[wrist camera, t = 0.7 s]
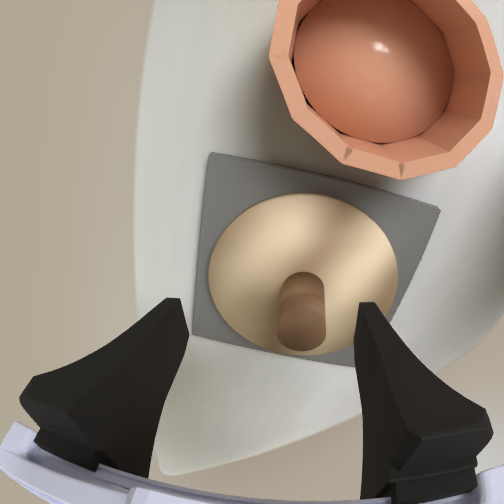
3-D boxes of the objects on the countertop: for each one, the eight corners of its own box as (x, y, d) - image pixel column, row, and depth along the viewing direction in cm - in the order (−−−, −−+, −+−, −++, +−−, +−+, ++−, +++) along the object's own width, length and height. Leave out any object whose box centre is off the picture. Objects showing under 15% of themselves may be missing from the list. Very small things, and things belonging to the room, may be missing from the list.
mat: (437, 206, 19) (440, 210, 18) (363, 363, 26) (363, 368, 26) (211, 152, 19) (209, 154, 19) (194, 329, 27) (192, 334, 26)
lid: (423, 220, 19) (452, 261, 14) (357, 359, 25) (362, 409, 21) (223, 172, 19) (197, 202, 15) (204, 328, 26) (186, 376, 21)
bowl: (469, 19, 12) (511, 8, 8) (434, 174, 18) (468, 203, 13) (296, -37, 13) (293, -72, 8) (265, 129, 18) (253, 144, 14)
